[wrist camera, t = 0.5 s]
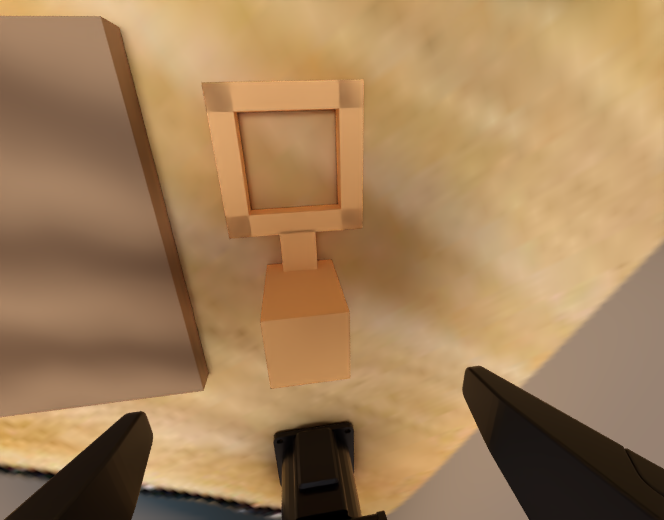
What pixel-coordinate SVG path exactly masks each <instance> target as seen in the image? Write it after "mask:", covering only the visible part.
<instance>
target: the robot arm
mask: <svg viewBox="0 0 664 520" xmlns="http://www.w3.org/2000/svg"><path fill="white" fill-rule="evenodd" d="M462 390H463V395H464V398H465V400H466V402H467V404H468V407H469V409H470V411H471V413H472V415H473V417H474V420H475V422H476V424H477V426H478V428H479V430H480V433H481V435H482V437H483V439H484V441H485V443H486V445H487V447H488V449H489V451H490V453H491V455H492V456H493V458H494V460H495V461H496V463H497V465H498V467H499V468H500V470H501V472H502V474H503V475H504V477H505V479H506V480H507V482H508V484H509V486H510V487H511V489H512V491H513V493H514V494H515V496H516V498H517V499H518V501H519V503H520V505H521V506H522V508H523V510H524V511H525V513H526V515H527V517H528V518H529V520H664V469H663V468H661V467H659V466H657V465H656V464H654V463H652V462H650V461H649V460H647V459H645V458H643V457H641V456H640V455H638V454H636V453H634V452H633V451H631V450H629V449H624V447H623V446H621V445H620V444H618V443H616V442H615V441H613V440H611V439H609V438H607V437H606V436H604V435H602V434H600V433H599V432H597V431H595V430H593V429H592V428H590V427H588V426H586V425H584V424H583V423H581V422H579V421H577V420H576V419H574V418H572V417H570V416H569V415H567V414H565V413H563V412H562V411H560V410H558V409H556V408H554V407H553V406H551V405H549V404H547V403H546V402H544V401H542V400H540V399H539V398H537V397H535V396H533V395H531V394H530V393H528V392H526V391H524V390H523V389H521V388H519V387H517V386H515V385H514V384H512V383H510V382H508V381H507V380H505V379H503V378H501V377H500V376H498V375H496V374H494V373H492V372H491V371H489V370H487V369H485V368H484V367H482V366H473V367H468V368H466V370H465V375H464V381H463V388H462ZM152 442H153V433H152V430H151V427H150V424H149V421H148V419H147V416H146V414H145V413H144V412H142V411H140V412H132V413H127V414H125V415H124V416H123V417H121V418H120V419H119V420H118V421H117V422H116V423H115V424H113V425H112V426H111V427H110V428H109V429H108V430H107V431H105V432H104V433H103V434H102V435H101V436H100V437H98V438H97V439H96V440H95V441H94V442H93V443H92V444H90V445H89V446H88V447H87V448H86V449H85V450H83V451H82V452H81V453H80V454H79V455H78V456H77V457H75V458H74V459H73V460H72V461H71V462H70V463H69V464H67V465H66V466H65V467H64V468H63V469H62V470H60V471H59V472H58V473H57V474H56V475H55V476H54V477H52V478H51V479H50V480H49V481H48V482H47V483H45V484H44V485H43V486H42V487H41V488H40V489H39V490H38V491H36V492H35V493H34V494H33V495H32V496H31V497H29V498H28V499H27V500H26V501H25V502H24V503H22V504H21V505H20V506H19V507H18V508H17V509H16V510H14V511H13V512H12V513H11V514H10V515H9V516H8V517H6V518H5V519H4V520H131V519H132V516H133V513H134V510H135V507H136V503H137V500H138V496H139V492H140V489H141V485H142V481H143V477H144V473H145V469H146V465H147V462H148V458H149V454H150V450H151V446H152ZM274 448H275V454H276V460H277V467H278V473H279V479H280V485H281V486H282V520H387V517H386V514H385V512H384V511H379V512H376V514H372V515H367V516H362V515H361V510H360V505H359V500H358V494H357V489H356V484H355V479H354V430H353V426H352V424H351V423H342V424H335V425H328V426H321V427H315V428H308V429H301V430H295V431H288V432H281V433H277V434H275V435H274Z"/></svg>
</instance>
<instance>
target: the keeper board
mask: <svg viewBox="0 0 664 520" xmlns="http://www.w3.org/2000/svg"><path fill="white" fill-rule="evenodd" d="M207 378H208V370H207V366H206V362H205V358H204V354H203V350H202V346H201V343H200V339H199V335H198V331H197V327H196V323H195V319H194V316H193V312H192V308H191V304H190V300H189V296H188V292H187V288H186V285H185V281H184V277H183V273H182V269H181V265H180V261H179V258H178V254H177V250H176V246H175V242H174V238H173V234H172V230H171V227H170V223H169V219H168V215H167V211H166V207H165V203H164V200H163V196H162V192H161V188H160V184H159V180H158V176H157V172H156V169H155V165H154V161H153V157H152V153H151V149H150V145H149V142H148V138H147V134H146V130H145V126H144V122H143V118H142V114H141V111H140V107H139V103H138V99H137V95H136V91H135V87H134V84H133V80H132V76H131V72H130V68H129V64H128V60H127V56H126V53H125V49H124V45H123V41H122V37H121V33H120V29H119V27H118V26H116V25H114V24H113V23H111V22H109V21H108V20H106V19H104V18H102V17H101V16H0V417H6V416H14V415H22V414H29V413H37V412H45V411H52V410H60V409H68V408H75V407H83V406H91V405H98V404H106V403H114V402H121V401H129V400H137V399H144V398H152V397H160V396H167V395H175V394H183V393H190V392H198V391H204V388H205V384H206V381H207Z"/></svg>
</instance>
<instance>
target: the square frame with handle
mask: <svg viewBox="0 0 664 520" xmlns="http://www.w3.org/2000/svg"><path fill="white" fill-rule="evenodd" d="M202 89H203V95H204V100H205V106H206V111H207V117H208V122H209V128H210V134H211V139H212V145H213V150H214V156H215V161H216V167H217V173H218V178H219V184H220V189H221V195H222V200H223V206H224V212H225V217H226V223H227V228H228V234H229V239H231V238H244V237H257V236H270V235H280V245H281V254H282V263H283V264H272V265H267V270H266V279H265V287H264V295H263V304H262V312H261V320H260V323H261V329H262V336H263V342H264V349H265V355H266V362H267V368H268V375H269V381H270V388H271V389H274V388H281V387H289V386H296V385H304V384H311V383H319V382H326V381H334V380H341V379H349V378H350V312H349V309H348V306H347V303H346V300H345V297H344V294H343V291H342V288H341V286H340V283H339V280H338V277H337V274H336V271H335V268H334V265H333V262H332V260H331V259H329V260H317V252H316V234H315V232H322V231H335V230H348V229H361V228H362V218H363V102H364V79H354V80H304V81H254V82H204V83H202ZM328 109H336V149H337V189H338V204H332V205H317V206H302V207H287V208H272V209H257V210H251V207H250V200H249V193H248V186H247V179H246V172H245V165H244V158H243V151H242V144H241V137H240V130H239V123H238V116H237V112H264V111H296V110H328Z"/></svg>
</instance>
